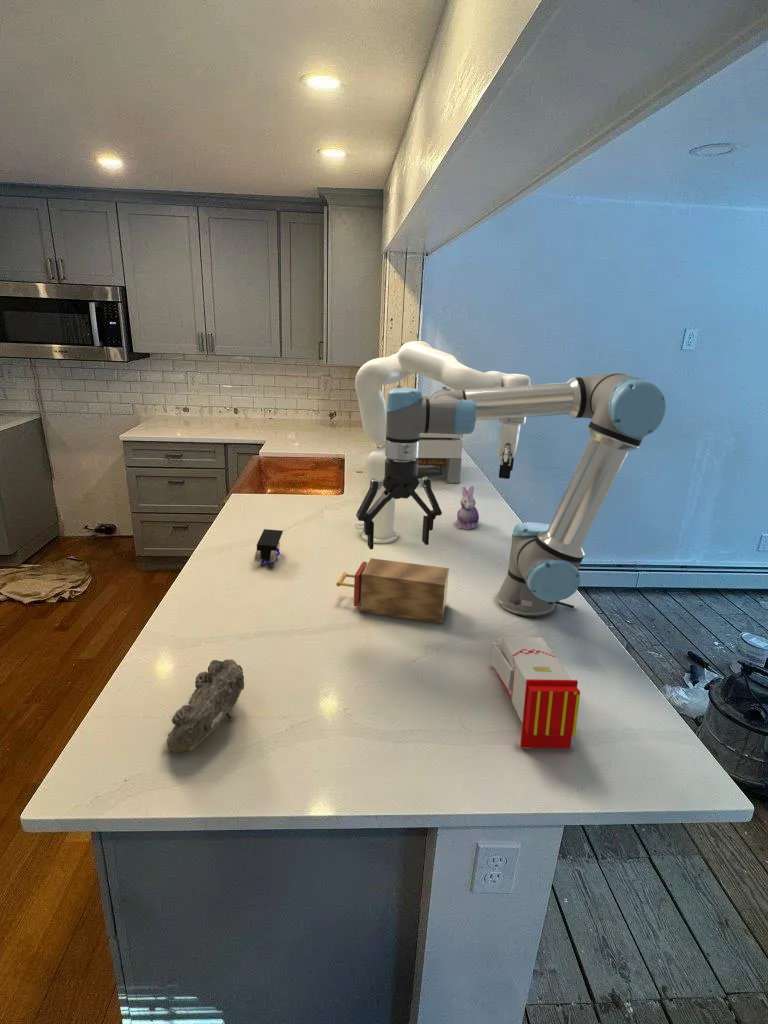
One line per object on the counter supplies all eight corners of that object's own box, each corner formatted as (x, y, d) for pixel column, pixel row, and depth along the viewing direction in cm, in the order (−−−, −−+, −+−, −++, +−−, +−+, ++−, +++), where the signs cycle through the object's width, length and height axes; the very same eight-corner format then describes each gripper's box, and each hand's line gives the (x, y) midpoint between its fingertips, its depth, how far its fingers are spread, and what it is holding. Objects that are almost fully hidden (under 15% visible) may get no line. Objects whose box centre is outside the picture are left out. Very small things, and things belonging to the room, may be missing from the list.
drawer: (334, 603, 149) (335, 572, 146) (343, 588, 158) (344, 558, 154) (429, 617, 145) (431, 585, 142) (433, 601, 153) (436, 570, 150)
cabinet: (360, 611, 148) (361, 573, 144) (369, 594, 157) (370, 558, 153) (441, 623, 144) (444, 584, 140) (445, 604, 153) (449, 568, 149)
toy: (539, 620, 128) (589, 687, 99) (533, 674, 131) (581, 755, 102) (485, 619, 128) (521, 686, 99) (481, 673, 131) (514, 755, 101)
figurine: (464, 531, 204) (468, 492, 199) (448, 522, 212) (452, 484, 207) (485, 528, 208) (490, 489, 203) (469, 519, 217) (473, 481, 212)
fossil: (192, 660, 117) (244, 628, 112) (224, 691, 120) (276, 661, 115) (142, 746, 98) (202, 712, 93) (182, 779, 101) (242, 748, 96)
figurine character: (277, 573, 169) (284, 548, 183) (276, 551, 166) (283, 527, 179) (254, 573, 169) (263, 547, 182) (252, 551, 166) (262, 527, 179)
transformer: (382, 463, 289) (386, 382, 275) (445, 464, 293) (451, 384, 279) (390, 482, 257) (394, 392, 243) (460, 483, 261) (468, 394, 247)
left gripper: (502, 411, 174) (496, 465, 180) (496, 421, 159) (489, 479, 165) (527, 414, 172) (520, 468, 178) (523, 424, 157) (516, 483, 163)
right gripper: (350, 464, 121) (349, 555, 128) (459, 460, 127) (452, 547, 135) (344, 456, 128) (343, 542, 135) (447, 452, 134) (441, 535, 141)
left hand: (505, 473), depth 171 cm, fingers open, 9 cm apart
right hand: (398, 545), depth 135 cm, fingers open, 13 cm apart
